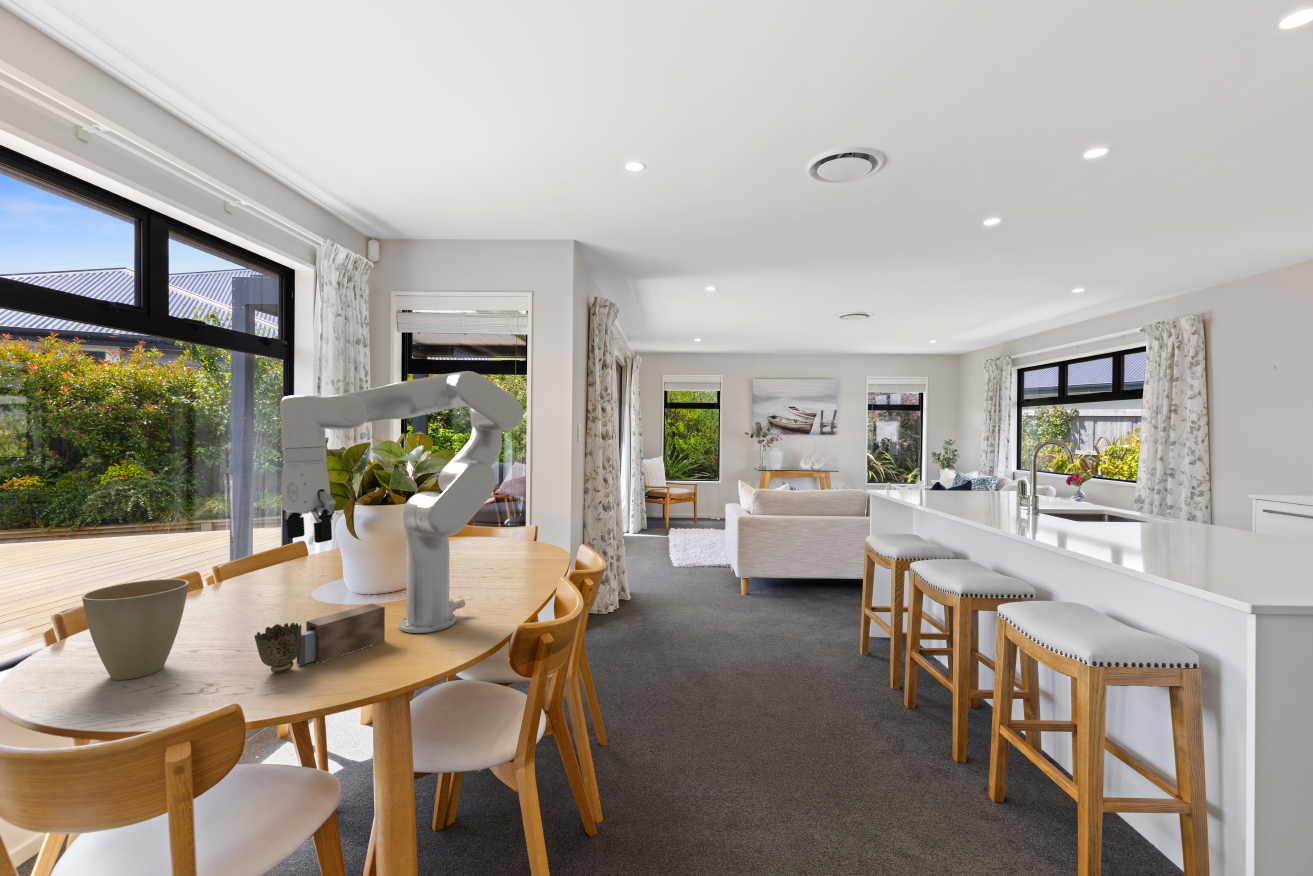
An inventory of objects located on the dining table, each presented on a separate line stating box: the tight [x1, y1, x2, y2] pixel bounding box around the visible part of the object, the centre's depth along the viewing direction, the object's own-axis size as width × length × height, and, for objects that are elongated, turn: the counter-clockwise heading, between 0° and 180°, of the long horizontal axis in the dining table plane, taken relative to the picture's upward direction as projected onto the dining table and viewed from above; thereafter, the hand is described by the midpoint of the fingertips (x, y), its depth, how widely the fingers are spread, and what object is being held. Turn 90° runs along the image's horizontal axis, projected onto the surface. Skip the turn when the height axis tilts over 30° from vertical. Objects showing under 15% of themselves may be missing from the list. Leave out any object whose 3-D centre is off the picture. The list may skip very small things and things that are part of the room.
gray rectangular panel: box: [296, 629, 316, 666], centre depth 116 cm, size 14×2×6 cm, turn 149°
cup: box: [254, 622, 302, 674], centre depth 107 cm, size 8×7×8 cm
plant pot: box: [81, 578, 190, 681], centre depth 107 cm, size 15×15×16 cm
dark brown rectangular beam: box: [305, 603, 386, 664], centre depth 118 cm, size 14×5×8 cm, turn 149°
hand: (309, 539), depth 116 cm, fingers open, 9 cm apart
